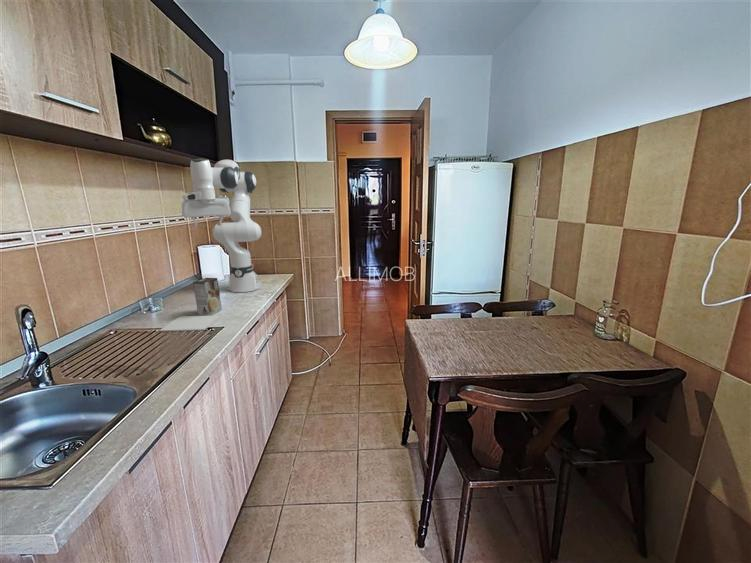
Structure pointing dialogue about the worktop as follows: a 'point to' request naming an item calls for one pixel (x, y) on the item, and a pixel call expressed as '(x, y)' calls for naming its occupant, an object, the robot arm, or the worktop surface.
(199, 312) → the coffee box
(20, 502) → the worktop surface
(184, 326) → the mat
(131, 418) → the worktop surface
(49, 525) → the worktop surface
